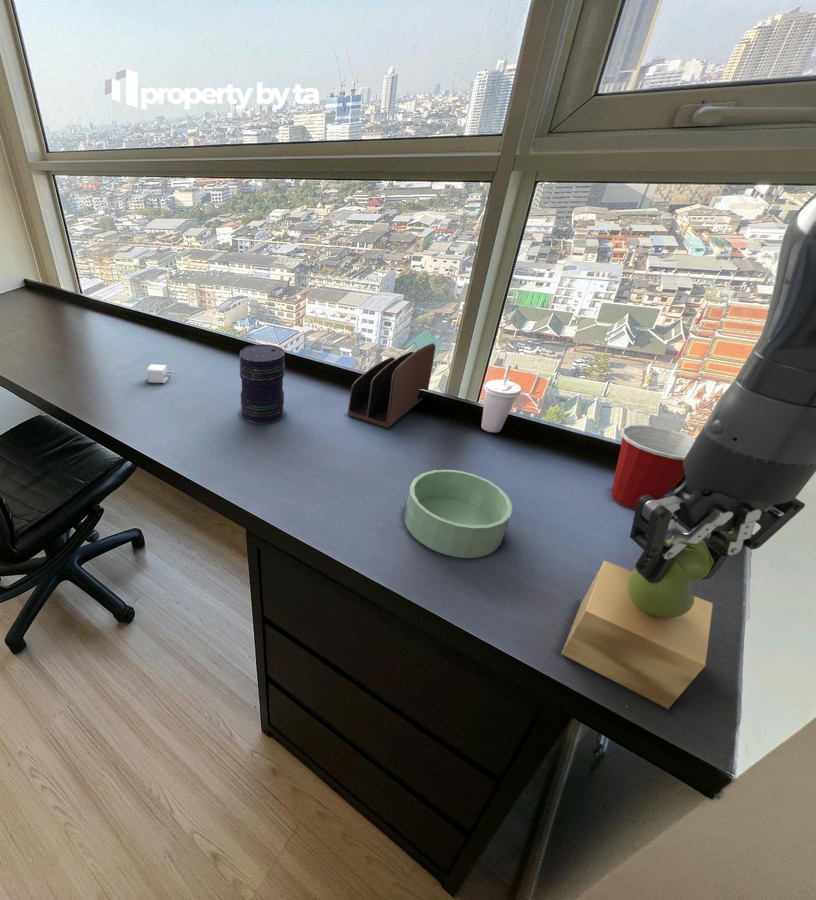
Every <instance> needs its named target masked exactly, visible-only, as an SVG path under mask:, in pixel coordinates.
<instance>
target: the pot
mask: <svg viewBox="0 0 816 900" xmlns="http://www.w3.org/2000/svg"><path fill="white" fill-rule="evenodd" d="M407 495H408V496H407V501H406V506H405V510H404V523H405V526H406V528H407V530H408V532H409V533H410V534H411V535H412V537H414V539H415V540H417V541H418V542H419V543H420V544H422V545H423V546H425V547H427V548H428V549H430V550H433V551H434V552H437V553H439V554H442V555H446V556H449V557H453V558H460V559H462V558H463V559H474V558H475V559H476V558H482V557H486V556H488V555H490V554H492V553H494V552H495V551H496V550H497V549H498V548H499V546H500V545H501V544H502V540H503V539H504V536H505V533H506V531H507V528H508V525H509V522H510V519H511V516H512V513H513V509H514V508H513V507H514V506H513V504H512V501H511V498H510V497H509V495H507V493H506V492H505V491H504V490H503V489H502V488H501V487H499V486H498V485H496V484H495V483H494V482H492V481H490V480H488V479H486V478H484V477H482V476H479V475H477V474H475V473H470V472H466V471H462V470H453V469H434V470H430V471H426V472H423V473H420V474H419V475H418V476H416V477H415V478H414V479H413V481H412V483H411V484H410V487H409V491H408V494H407Z"/></svg>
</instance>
